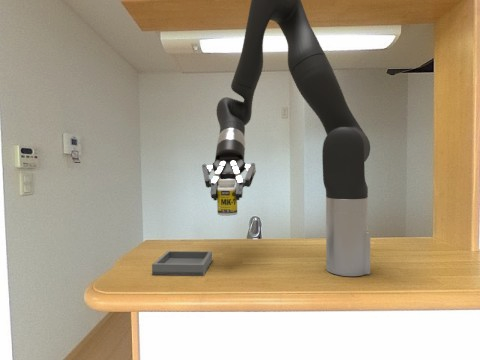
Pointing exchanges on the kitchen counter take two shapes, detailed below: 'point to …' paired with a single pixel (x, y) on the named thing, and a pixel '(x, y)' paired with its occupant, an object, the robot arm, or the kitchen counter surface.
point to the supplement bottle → (226, 197)
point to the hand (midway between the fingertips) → (226, 197)
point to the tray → (182, 263)
